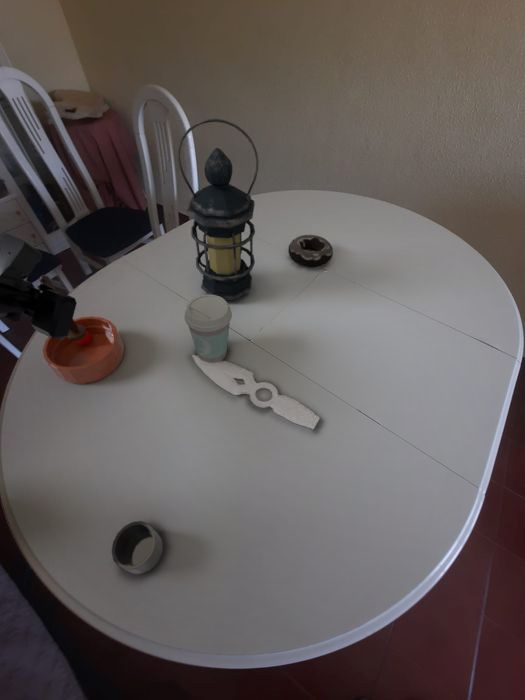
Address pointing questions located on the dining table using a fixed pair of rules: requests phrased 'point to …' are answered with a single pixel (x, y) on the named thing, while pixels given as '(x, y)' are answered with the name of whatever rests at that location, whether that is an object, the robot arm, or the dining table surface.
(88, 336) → the cherry tomato
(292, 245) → the donut
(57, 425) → the dining table surface
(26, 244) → the robot arm
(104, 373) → the bowl
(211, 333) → the coffee cup
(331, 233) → the dining table surface
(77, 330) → the brown wooden rod
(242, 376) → the knife
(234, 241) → the lantern
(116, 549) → the utensil holder
